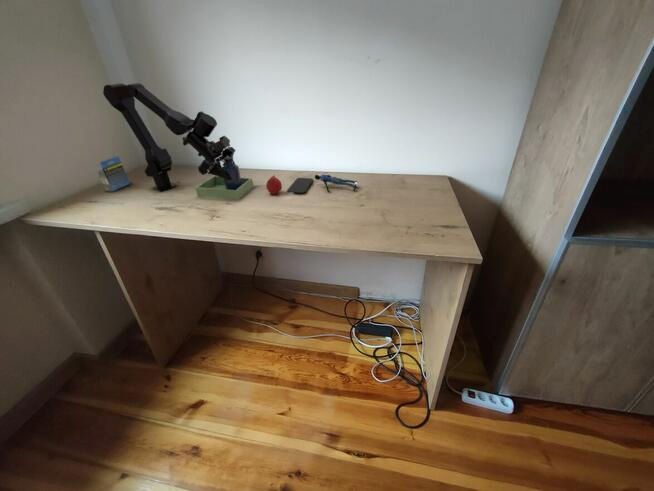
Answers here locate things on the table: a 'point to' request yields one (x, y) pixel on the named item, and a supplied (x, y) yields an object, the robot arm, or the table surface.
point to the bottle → (232, 174)
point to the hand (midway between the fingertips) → (235, 176)
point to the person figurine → (336, 181)
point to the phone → (300, 185)
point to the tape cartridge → (113, 175)
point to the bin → (222, 188)
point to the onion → (274, 185)
